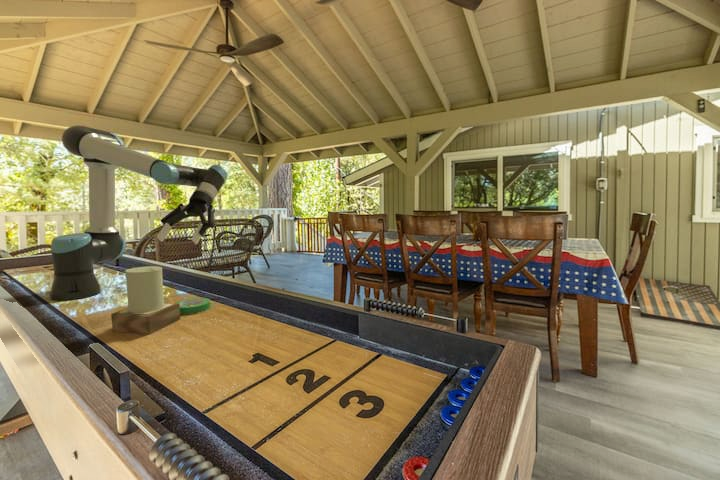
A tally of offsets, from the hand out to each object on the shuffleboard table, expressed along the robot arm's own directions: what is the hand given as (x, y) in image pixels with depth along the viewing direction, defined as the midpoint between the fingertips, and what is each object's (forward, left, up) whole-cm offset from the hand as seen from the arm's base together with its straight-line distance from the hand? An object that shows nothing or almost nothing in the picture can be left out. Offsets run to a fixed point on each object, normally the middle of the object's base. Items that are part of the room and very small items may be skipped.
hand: (176, 240), depth 117 cm
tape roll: (+7, -3, -23) cm, 25 cm away
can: (+4, -19, -18) cm, 26 cm away
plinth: (+4, -19, -23) cm, 30 cm away
